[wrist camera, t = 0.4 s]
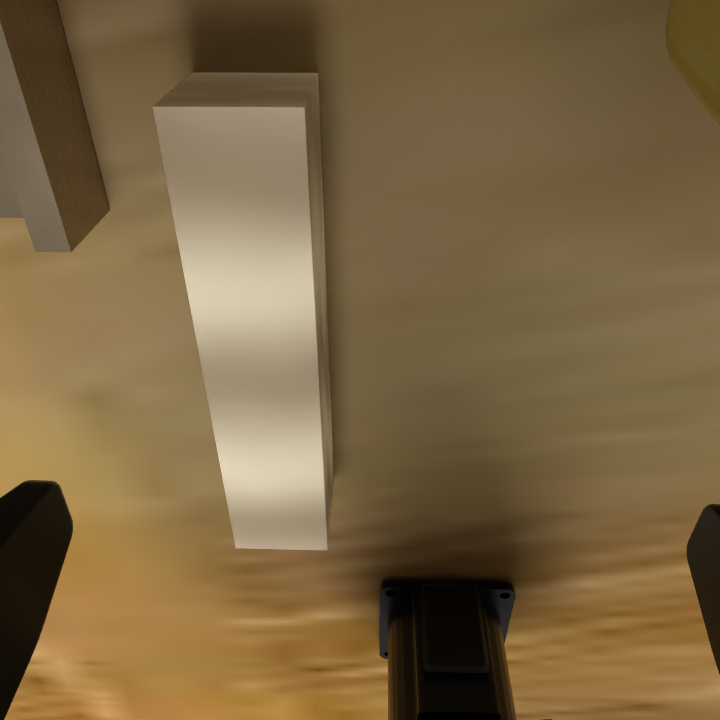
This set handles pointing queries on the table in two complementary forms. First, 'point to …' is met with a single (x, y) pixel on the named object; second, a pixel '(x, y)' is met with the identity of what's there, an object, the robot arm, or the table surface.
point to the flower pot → (697, 48)
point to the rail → (257, 291)
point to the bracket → (44, 131)
